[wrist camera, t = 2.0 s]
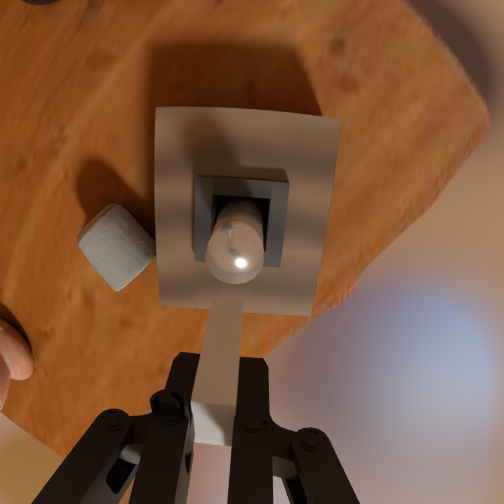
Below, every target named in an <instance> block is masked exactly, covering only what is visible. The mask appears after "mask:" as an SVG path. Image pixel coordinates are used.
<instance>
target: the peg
mask: <svg viewBox="0 0 504 504" xmlns="http://www.w3.org/2000/svg"><path fill="white" fill-rule="evenodd" d="M205 260H206V264H207V267H208V269H209V271H210V272H211V273H212V274H213V275H214V276H215V277H216V278H217V279H219V280H221V281H223V282H225V283H229V284H241V283H245V282H248V281H250V280H252V279H253V278H254V277H256V276H257V275H258V274H259V272H260V271H261V269H262V266H263V262H264V249H263V224H262V213H261V210H260V208H259V207H258V205H257V204H256V203H255V202H253V201H252V200H250V199H247V198H240V197H239V198H233V199H231V200H229V201H227V202H226V203H225V204H224V205H223V206H222V208H221V210H220V213H219V215H218V218H217V221H216V224H215V226H214V229H213V232H212V235H211V238H210V240H209V243H208V246H207V249H206V253H205Z"/></svg>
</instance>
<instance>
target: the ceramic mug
mask: <svg viewBox="0 0 504 504" xmlns="http://www.w3.org/2000/svg"><path fill="white" fill-rule="evenodd" d="M77 243H78V245H79V247H80V249H81V251H82V252H83V254H84V255H85V256H86V257H87V259H88V261H89V262H90V264H91V265H92V266H93V268H94V269H95V270H96V271H97V272H98V273H99V274H101V275H102V276H103V278H104V279H105V280H106V281H107V282H108V284H109V285H110V286H111V287H112V288H113V289H114V290H115V291H119V290H121V289H122V288H124V287H125V286H126V285H127V284H128V283H129V282H130V281H131V280H133V279H134V278H135V277H136V276H137V275H138V274H139V273H140V272H141V271H142V270H143V269H144V268H145V267H146V266H147V265H148V264H149V263H150V262H151V261H152V260H153V258H154V257H155V256H156V255H157V251H156V241H155V240H154V239H153V238H152V237H151V236H150V235H149V234H148V233H147V232H146V231H145V230H144V228H143V227H142V226H141V225H140V224H139V223H138V222H137V221H136V220H135V219H134V218H133V216H132V215H131V214H130V213H129V212H128V211H127V210H126V209H125V208H123V207H122V206H121V205H120V204H118V203H112V204H110V205H108V206H107V207H105V208H104V209H103V210H102V211H100V212H99V213H98V214H97V215H96V216H95V217H94V218H93V219H92V220H91V221H90V222H89V223H88V224H87V225H86V226H85V227H84V228H83V229H82V231H81V232H80V233H79V235H78V237H77Z"/></svg>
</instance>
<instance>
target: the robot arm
mask: <svg viewBox="0 0 504 504" xmlns="http://www.w3.org/2000/svg"><path fill="white" fill-rule="evenodd" d="M21 1H23V2H26V3H29V4H32V5H46V4H50V3H53V2H55V1H58V0H21ZM243 305H244V300H238V299H225V298H213V301H212V305H211V309H210V314H209V318H208V323H207V327H206V332H205V336H204V341H203V346H202V350H201V354H196V353H187V352H180V353H179V354H178V355H177V356H176V357H175V358H174V359H173V363H172V366H171V370H170V373H169V377H168V379H167V383H166V386H165V389H164V390H160V391H157V392H156V393H155V394H153V395H152V397H151V398H150V400H149V401H150V405H151V409H152V412H151V413H149V414H146V415H139V416H129V415H128V414H127V413H126V412H124V411H123V410H119V409H108V410H105V411H103V412H102V413H101V414H100V415H98V417H97V418H96V419H95V421H94V422H93V423H92V424H91V426H90V427H89V428H88V430H87V431H86V432H85V433H84V435H83V436H82V437H81V439H80V440H79V441H78V443H77V444H76V445H75V446H74V448H73V449H72V450H71V452H70V453H69V454H68V456H67V457H66V458H65V460H64V461H63V462H62V464H61V465H60V466H59V468H58V469H57V470H56V471H55V473H54V474H53V475H52V477H51V478H50V479H49V481H48V482H47V483H46V485H45V486H44V487H43V489H42V490H41V491H40V493H39V494H38V495H37V497H36V498H35V499H34V501H33V502H32V503H31V504H118V503H119V502H120V500H121V498H122V497H123V495H124V493H125V492H126V490H127V488H128V487H129V485H130V483H131V482H132V480H133V478H134V477H135V480H134V484H133V487H132V491H131V495H130V499H129V504H186V501H187V494H188V488H189V481H190V474H191V468H192V461H193V444H194V438H195V442H196V443H206V444H215V445H226V446H232V450H231V462H230V475H229V488H228V501H227V504H273V476H277V477H280V478H282V481H283V484H284V487H285V490H286V493H287V496H288V499H289V502H290V504H360V503H359V501H358V499H357V497H356V495H355V493H354V490H353V488H352V487H351V484H350V482H349V480H348V478H347V476H346V474H345V472H344V469H343V467H342V465H341V463H340V461H339V459H338V457H337V455H336V453H335V451H334V448H333V446H332V444H331V442H330V440H329V438H328V437H327V435H326V434H325V433H324V432H322V431H321V430H319V429H316V428H312V427H311V428H303V429H300V430H298V431H297V432H294V431H291V430H288V429H285V428H282V427H280V426H278V425H277V424H276V423H275V422H274V421H273V420H272V418H271V416H270V412H269V378H268V366H267V364H266V362H265V361H264V359H263V358H251V357H240V347H241V333H242V319H243ZM135 475H136V476H135Z"/></svg>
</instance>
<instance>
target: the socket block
mask: <svg viewBox="0 0 504 504" xmlns="http://www.w3.org/2000/svg"><path fill="white" fill-rule="evenodd" d="M340 126H341V119H336V118H329V117H322V116H315V115H307V114H299V113H290V112H280V111H269V110H256V109H241V108H221V107H156V114H155V151H154V191H155V229H156V251H157V268H158V282H159V295H160V305H169V306H179V307H189V308H200V309H211V305H212V301H213V298H225V299H238V300H244V305H243V312H250V313H265V314H282V315H301V316H310V315H311V310H312V305H313V300H314V295H315V290H316V285H317V280H318V274H319V269H320V264H321V258H322V252H323V247H324V241H325V235H326V229H327V223H328V216H329V210H330V203H331V196H332V190H333V182H334V175H335V168H336V160H337V152H338V144H339V135H340ZM222 195H228V196H243V197H256V198H266V201H265V212H264V220H262V224H263V249H264V262H263V266H262V269H261V271H260V272H259V274H258V275H257V276H256V277H254V278H253V279H252V280H250V281H248V282H245V283H241V284H229V283H225V282H223V281H221V280H219V279H217V278H216V277H215V276H214V275H213V274H212V273H211V272H210V271H209V269H208V267H207V264H206V260H205V253H206V249H207V246H208V243H209V240H210V238H211V235H212V232H213V229H214V226H215V224H216V221H217V218H218V215H219V213H220V210H221V204H222Z"/></svg>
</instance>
